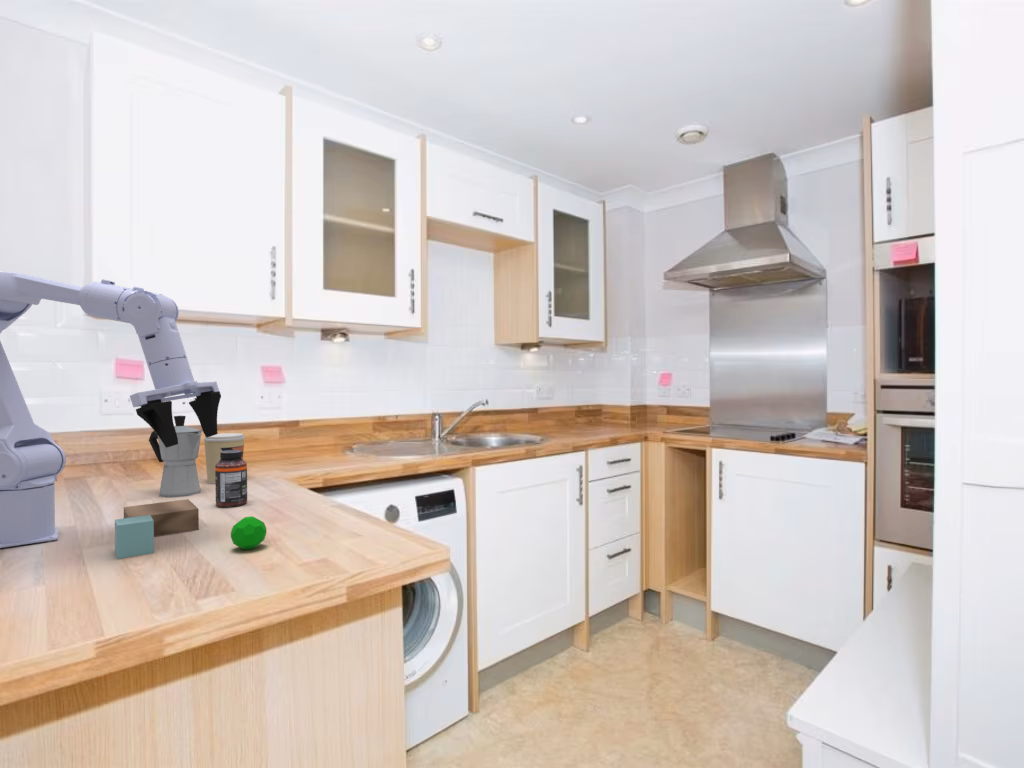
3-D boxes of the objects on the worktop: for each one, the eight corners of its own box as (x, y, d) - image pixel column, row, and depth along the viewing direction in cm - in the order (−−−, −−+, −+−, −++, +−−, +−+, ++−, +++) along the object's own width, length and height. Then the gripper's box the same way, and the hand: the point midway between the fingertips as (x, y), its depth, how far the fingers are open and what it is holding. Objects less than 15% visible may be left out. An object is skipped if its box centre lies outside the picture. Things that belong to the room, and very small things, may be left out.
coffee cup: (227, 485, 135) (227, 437, 135) (195, 483, 137) (194, 436, 137) (252, 478, 144) (252, 433, 144) (222, 477, 146) (221, 432, 146)
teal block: (117, 559, 80) (117, 525, 80) (115, 552, 83) (114, 519, 83) (153, 553, 83) (153, 520, 83) (150, 546, 86) (149, 514, 86)
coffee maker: (217, 491, 128) (217, 414, 128) (186, 498, 120) (185, 417, 120) (167, 487, 132) (167, 413, 132) (133, 495, 124) (133, 416, 124)
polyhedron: (226, 548, 85) (226, 517, 85) (259, 541, 89) (259, 512, 89) (237, 555, 82) (237, 523, 82) (271, 548, 85) (271, 517, 85)
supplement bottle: (217, 502, 116) (217, 449, 116) (248, 500, 118) (248, 448, 118) (213, 509, 111) (212, 453, 110) (245, 506, 113) (245, 452, 113)
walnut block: (129, 542, 89) (129, 518, 89) (123, 529, 97) (123, 507, 97) (198, 531, 96) (198, 508, 96) (188, 520, 103) (188, 499, 103)
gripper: (142, 359, 82) (169, 445, 83) (221, 352, 96) (244, 426, 96) (111, 372, 85) (138, 455, 85) (193, 363, 98) (215, 435, 99)
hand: (192, 440), depth 91 cm, fingers open, 7 cm apart
